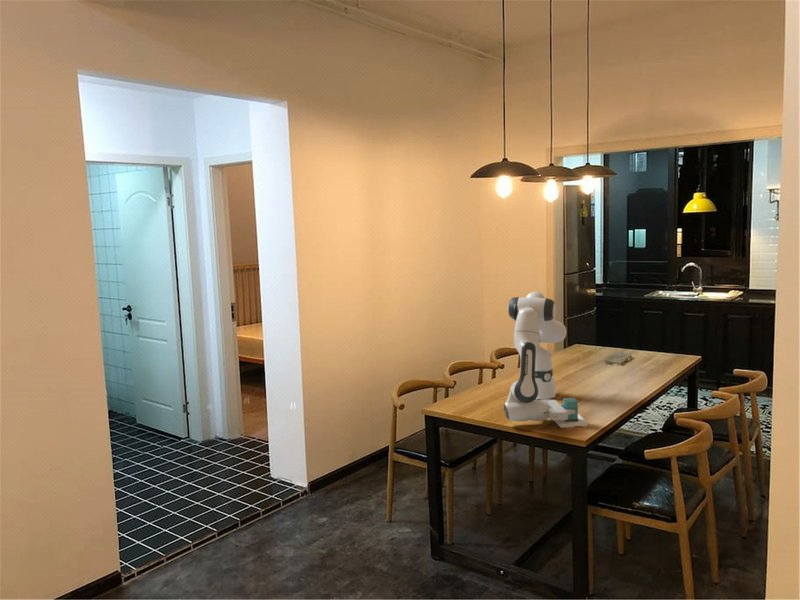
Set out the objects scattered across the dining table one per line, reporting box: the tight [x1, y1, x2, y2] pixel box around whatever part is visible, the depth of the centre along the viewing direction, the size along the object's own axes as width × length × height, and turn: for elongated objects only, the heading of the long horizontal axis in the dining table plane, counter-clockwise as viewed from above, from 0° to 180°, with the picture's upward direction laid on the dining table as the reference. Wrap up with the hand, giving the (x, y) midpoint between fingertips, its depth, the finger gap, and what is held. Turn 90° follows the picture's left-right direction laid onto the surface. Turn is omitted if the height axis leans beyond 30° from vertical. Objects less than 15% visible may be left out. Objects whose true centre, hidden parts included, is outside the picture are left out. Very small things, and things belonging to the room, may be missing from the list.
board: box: [553, 413, 589, 428], centre depth 288 cm, size 24×12×2 cm, turn 1°
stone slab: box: [603, 351, 633, 366], centre depth 405 cm, size 12×4×30 cm
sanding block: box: [562, 397, 579, 422], centre depth 280 cm, size 5×5×9 cm
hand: (572, 409), depth 280 cm, fingers closed on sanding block, 5 cm apart
